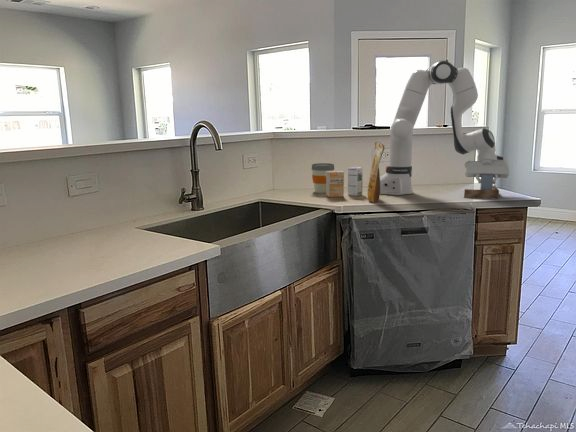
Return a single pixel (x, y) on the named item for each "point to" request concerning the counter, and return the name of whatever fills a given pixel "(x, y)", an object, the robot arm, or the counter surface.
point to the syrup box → (355, 181)
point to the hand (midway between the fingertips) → (486, 183)
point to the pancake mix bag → (375, 174)
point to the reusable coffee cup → (320, 175)
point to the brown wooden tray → (482, 193)
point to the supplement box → (334, 183)
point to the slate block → (486, 182)
